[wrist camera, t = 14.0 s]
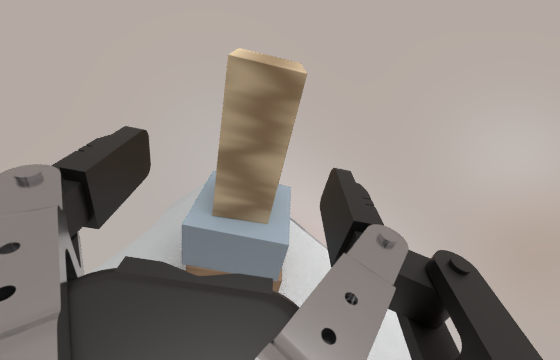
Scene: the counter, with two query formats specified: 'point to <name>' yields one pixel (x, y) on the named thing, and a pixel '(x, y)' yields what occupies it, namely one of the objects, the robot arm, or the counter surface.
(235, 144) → the oak post
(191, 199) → the counter surface
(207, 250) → the upper block
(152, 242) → the counter surface
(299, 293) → the counter surface
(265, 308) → the robot arm
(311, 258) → the counter surface
